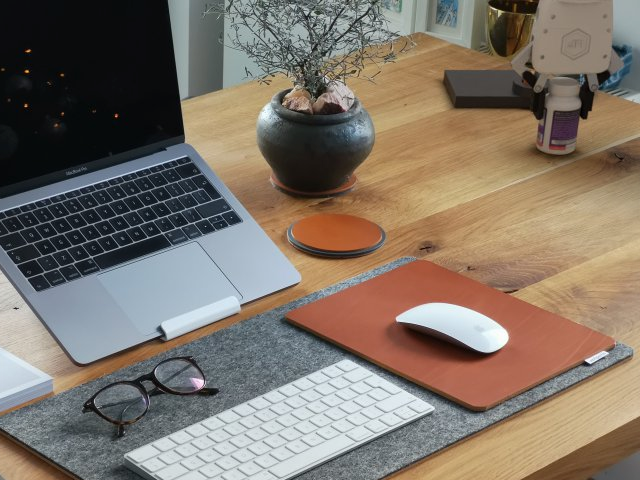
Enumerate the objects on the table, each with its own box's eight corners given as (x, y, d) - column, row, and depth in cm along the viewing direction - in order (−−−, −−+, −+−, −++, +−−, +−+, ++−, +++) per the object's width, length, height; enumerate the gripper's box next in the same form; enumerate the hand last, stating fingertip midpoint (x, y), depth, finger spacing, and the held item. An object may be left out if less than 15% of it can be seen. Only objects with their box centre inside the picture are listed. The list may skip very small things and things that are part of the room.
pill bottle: (582, 147, 156) (592, 80, 151) (562, 158, 153) (572, 91, 148) (548, 137, 160) (556, 72, 155) (528, 148, 156) (536, 82, 151)
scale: (535, 81, 181) (538, 60, 179) (553, 110, 169) (557, 88, 168) (443, 80, 181) (445, 60, 179) (455, 109, 170) (458, 88, 168)
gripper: (517, -7, 142) (502, 127, 151) (652, -9, 141) (629, 125, 151) (505, -22, 148) (492, 107, 157) (635, -24, 148) (614, 105, 157)
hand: (559, 115), depth 154 cm, fingers closed on pill bottle, 5 cm apart
